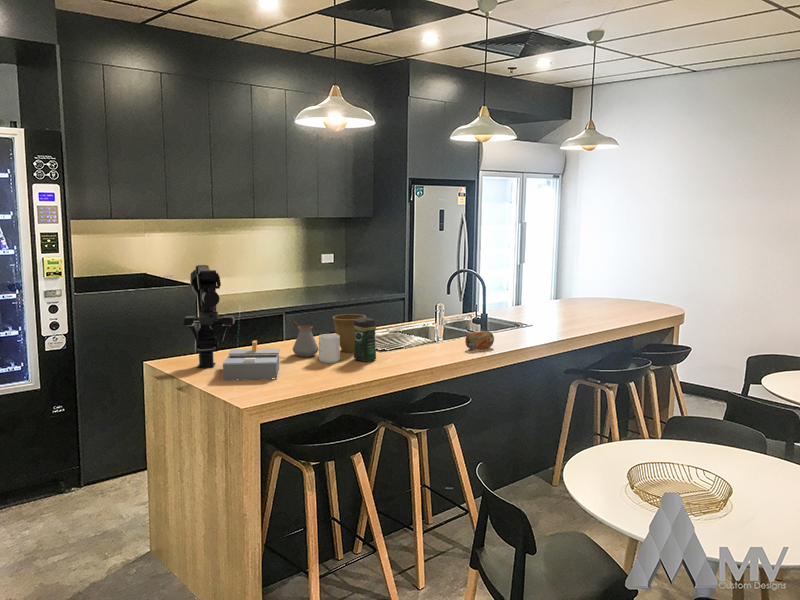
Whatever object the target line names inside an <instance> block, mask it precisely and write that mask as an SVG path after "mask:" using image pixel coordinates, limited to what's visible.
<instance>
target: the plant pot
mask: <svg viewBox="0 0 800 600" xmlns="http://www.w3.org/2000/svg"><path fill="white" fill-rule="evenodd" d="M359 317H366V315H364V314H359V313H358V314H356V313H345V314H336V315H333V316H332V320H333V326H334V327H333V328H334V330H335V334H337V335H339V336H340V351H342V352H343V353H354V348H355V329H354V321H355V319H356V318H359Z"/></svg>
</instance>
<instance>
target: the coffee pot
mask: <svg viewBox="0 0 800 600" xmlns="http://www.w3.org/2000/svg"><path fill="white" fill-rule="evenodd" d="M287 320H288V321H290V322H292V323H293V325H295V327H296V328H297V329H298V331H299V332H298V335H297V337H296V340H295V342H294V345H293V347H292V351H293V353H294V354H295V355H296V356H297V357H299V356H300V357H301V358H310V356H311V357H314V356H315V355H316V354H317V353H319V345H318V344H317V342H316V340H315V337H314V334H313V333H312V330H313V327H314V326H313V325H299V324H298V323H297V322H296V321H295V319H294V318H293V317H289V318H288V319H287Z"/></svg>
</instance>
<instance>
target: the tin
mask: <svg viewBox="0 0 800 600" xmlns="http://www.w3.org/2000/svg"><path fill="white" fill-rule="evenodd" d="M464 342H465V346H466V348H468V349H469V350H471V351H479V350H485V349H487V350H488V349H490V348H491V347H492V346H493V345H494V342H495V336H494V334H493V332H492V331H489V330H481V331H472V332H469V333H468V334H467V335H466V336H465V341H464Z"/></svg>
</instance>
